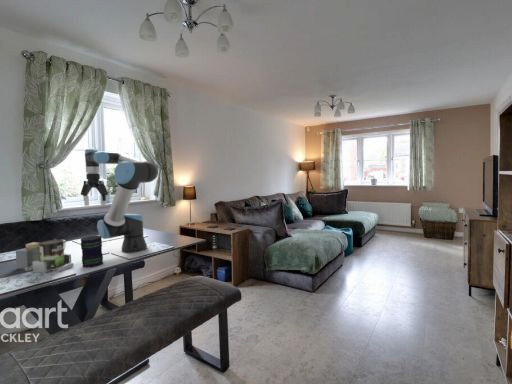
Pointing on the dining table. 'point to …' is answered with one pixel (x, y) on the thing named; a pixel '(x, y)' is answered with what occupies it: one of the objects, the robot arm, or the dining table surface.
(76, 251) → the dining table surface
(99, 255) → the storage jar
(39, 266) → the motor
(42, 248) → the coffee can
